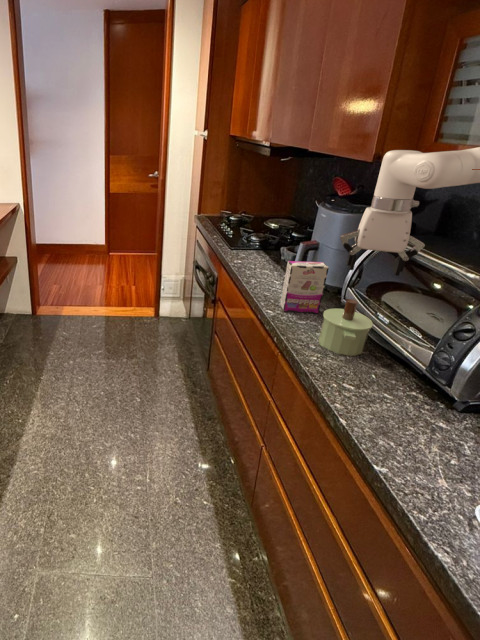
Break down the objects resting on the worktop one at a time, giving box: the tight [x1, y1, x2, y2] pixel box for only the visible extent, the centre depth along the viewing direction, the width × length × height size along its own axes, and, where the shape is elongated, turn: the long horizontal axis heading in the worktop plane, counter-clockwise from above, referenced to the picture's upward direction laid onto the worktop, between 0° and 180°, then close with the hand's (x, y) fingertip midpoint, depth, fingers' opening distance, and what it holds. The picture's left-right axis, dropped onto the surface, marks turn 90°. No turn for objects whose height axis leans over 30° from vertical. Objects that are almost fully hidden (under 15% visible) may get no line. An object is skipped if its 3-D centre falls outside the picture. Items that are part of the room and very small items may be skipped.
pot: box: [318, 317, 371, 356], centre depth 107 cm, size 11×16×8 cm, turn 156°
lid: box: [322, 298, 374, 331], centre depth 105 cm, size 12×12×6 cm
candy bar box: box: [279, 260, 329, 314], centre depth 127 cm, size 11×5×16 cm, turn 80°
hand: (372, 271), depth 98 cm, fingers open, 9 cm apart
